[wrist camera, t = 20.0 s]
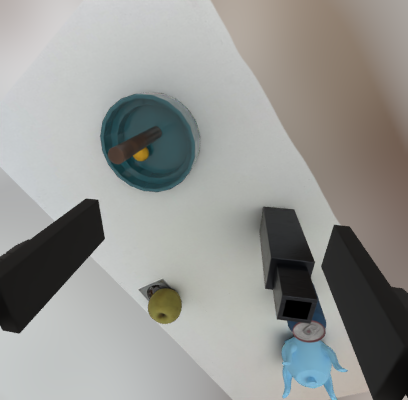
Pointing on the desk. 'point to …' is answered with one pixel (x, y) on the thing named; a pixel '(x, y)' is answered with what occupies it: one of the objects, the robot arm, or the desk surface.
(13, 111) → the desk surface
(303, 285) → the holder
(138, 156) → the ball
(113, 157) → the stick
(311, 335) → the soda can
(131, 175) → the bowl
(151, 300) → the apple
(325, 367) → the teapot
